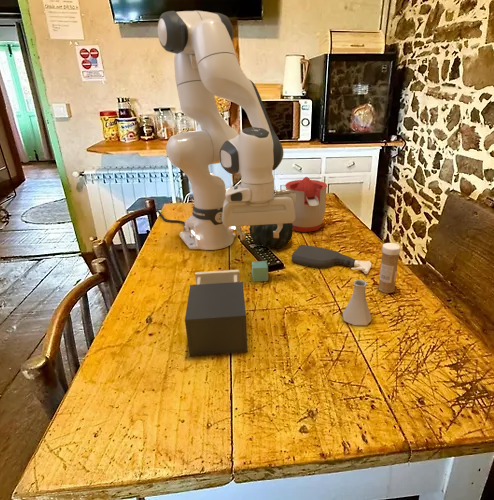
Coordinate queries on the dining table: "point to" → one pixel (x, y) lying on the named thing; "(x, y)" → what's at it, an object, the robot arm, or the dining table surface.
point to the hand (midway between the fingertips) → (259, 238)
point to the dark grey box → (216, 319)
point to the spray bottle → (326, 258)
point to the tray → (217, 277)
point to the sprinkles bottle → (389, 267)
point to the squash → (271, 235)
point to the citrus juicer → (308, 203)
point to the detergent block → (259, 271)
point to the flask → (357, 306)
